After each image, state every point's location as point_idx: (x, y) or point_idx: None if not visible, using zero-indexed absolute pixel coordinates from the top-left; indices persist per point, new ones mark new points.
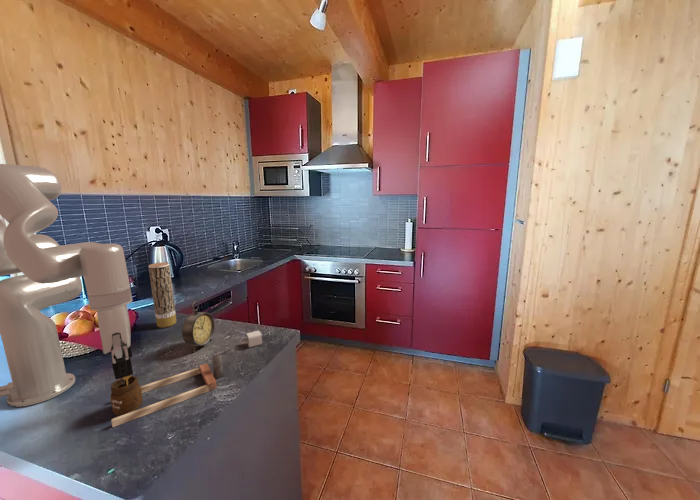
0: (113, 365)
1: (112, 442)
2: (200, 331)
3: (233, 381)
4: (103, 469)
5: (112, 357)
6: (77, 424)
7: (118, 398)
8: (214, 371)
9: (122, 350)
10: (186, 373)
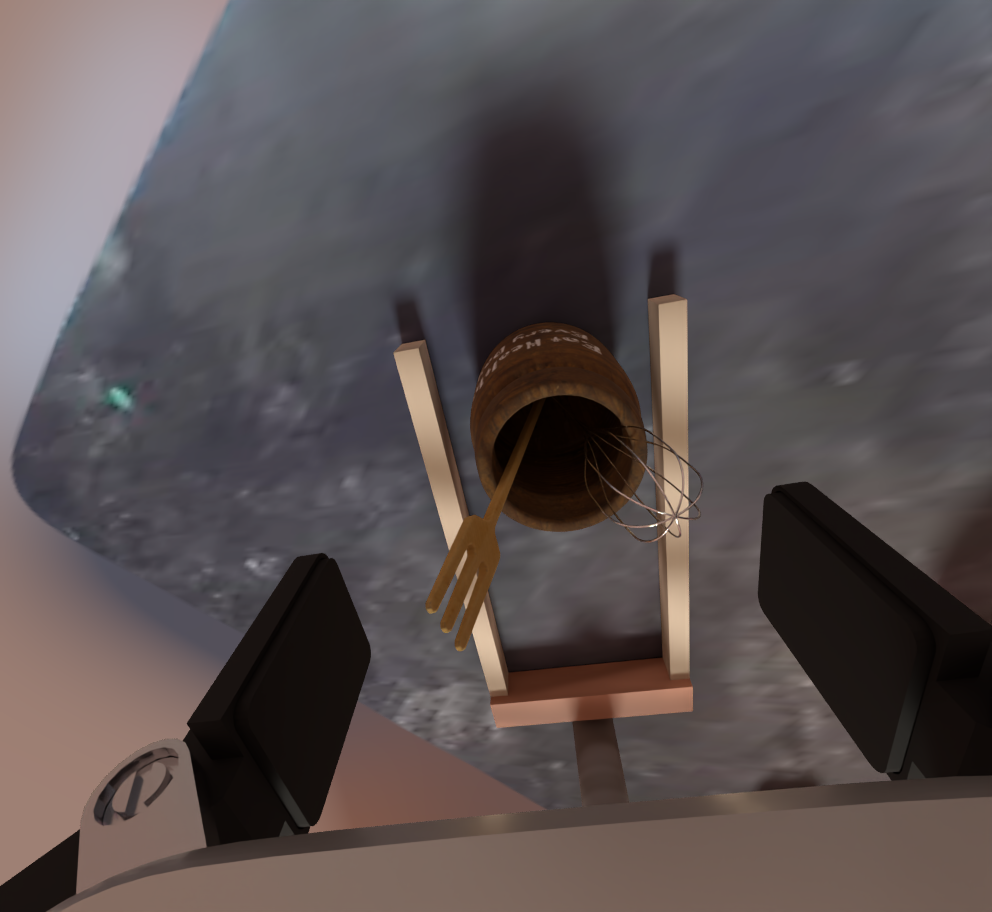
0: (212, 697)
1: (288, 366)
2: None
3: (514, 739)
4: (130, 367)
5: (80, 871)
6: (525, 127)
7: (474, 407)
8: (585, 729)
9: (833, 631)
10: (668, 631)
